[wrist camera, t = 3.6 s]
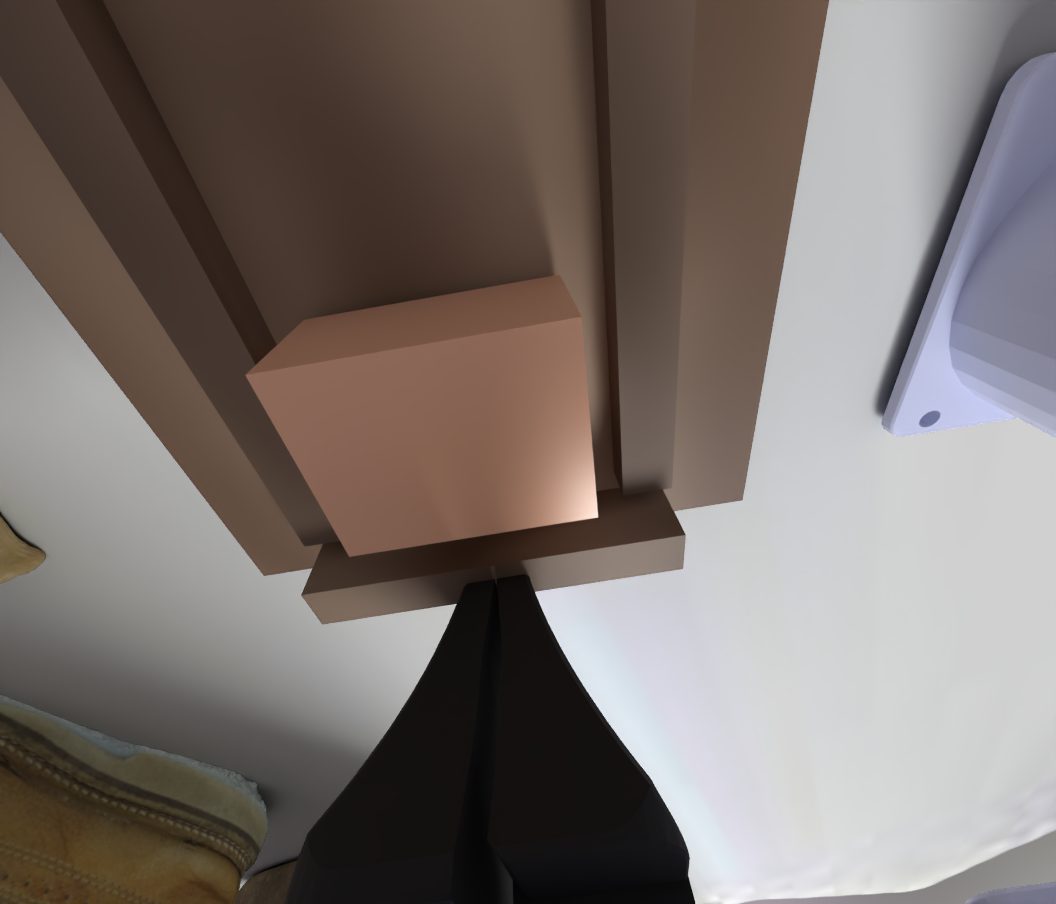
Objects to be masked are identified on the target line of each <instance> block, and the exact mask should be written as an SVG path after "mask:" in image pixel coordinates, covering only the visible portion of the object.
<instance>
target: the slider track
mask: <svg viewBox="0 0 1056 904" xmlns="http://www.w3.org/2000/svg"><path fill="white" fill-rule="evenodd" d="M828 3H829V0H0V232H1V233H2V235H3V236H4V237H5V239H6V240H7V241H8V242H9V244H10V245H11V246H12V248H13V249H14V250H15V252H16V253H17V254H18V256H19V257H20V258H21V259H22V261H23V262H24V263H25V265H26V266H27V267H28V269H29V270H30V271H31V272H32V274H33V275H34V276H35V278H36V279H37V280H38V282H39V283H40V284H41V286H42V287H43V288H44V289H45V291H46V292H47V293H48V295H49V296H50V297H51V299H52V300H53V301H54V303H55V304H56V305H57V306H58V308H59V309H60V310H61V312H62V313H63V314H64V316H65V317H66V318H67V319H68V321H69V322H70V323H71V325H72V326H73V327H74V329H75V330H76V331H77V333H78V334H79V335H80V336H81V338H82V339H83V340H84V342H85V343H86V344H87V346H88V347H89V348H90V349H91V351H92V352H93V353H94V355H95V356H96V357H97V359H98V360H99V361H100V363H101V364H102V365H103V366H104V368H105V369H106V370H107V372H108V373H109V374H110V376H111V377H112V378H113V379H114V381H115V382H116V383H117V385H118V386H119V387H120V389H121V390H122V391H123V393H124V394H125V395H126V396H127V398H128V399H129V400H130V402H131V403H132V404H133V406H134V407H135V408H136V409H137V411H138V412H139V413H140V415H141V416H142V417H143V419H144V420H145V421H146V423H147V424H148V425H149V426H150V428H151V429H152V430H153V432H154V433H155V434H156V436H157V437H158V438H159V439H160V441H161V442H162V443H163V445H164V446H165V447H166V449H167V450H168V451H169V453H170V454H171V455H172V456H173V458H174V459H175V460H176V462H177V463H178V464H179V466H180V467H181V468H182V469H183V471H184V472H185V473H186V475H187V476H188V477H189V479H190V480H191V481H192V483H193V484H194V485H195V486H196V488H197V489H198V490H199V492H200V493H201V494H202V496H203V497H204V498H205V499H206V501H207V502H208V503H209V505H210V506H211V507H212V509H213V510H214V511H215V513H216V514H217V515H218V516H219V518H220V519H221V520H222V522H223V523H224V524H225V526H226V527H227V528H228V529H229V531H230V532H231V533H232V535H233V536H234V537H235V539H236V540H237V541H238V543H239V544H240V545H241V546H242V548H243V549H244V550H245V552H246V553H247V554H248V556H249V557H250V558H251V559H252V561H253V562H254V563H255V565H256V566H257V567H258V569H259V570H260V571H261V573H262V574H263V575H264V576H266V575H273V574H279V573H285V572H292V571H298V570H304V569H311V568H313V569H312V571H311V573H310V576H309V578H308V580H307V583H306V585H305V588H304V590H303V592H302V597H303V598H304V600H305V601H306V602H307V604H308V605H309V607H310V608H311V609H312V611H313V612H314V614H315V615H316V616H317V618H318V619H319V620H320V622H321V623H322V624H328V623H334V622H341V621H347V620H354V619H360V618H367V617H373V616H380V615H386V614H393V613H399V612H406V611H412V610H419V609H425V608H432V607H438V606H445V605H451V604H457V602H458V600H459V598H460V595H461V593H462V590H463V587H464V586H465V585H466V584H467V583H473V582H479V581H485V580H491V579H495V582H496V585H497V580H496V579H497V578H503V577H510V576H516V575H522V574H525V575H527V576H529V577H530V580H531V583H532V586H533V589H534V591H535V592H536V591H542V590H549V589H555V588H562V587H568V586H575V585H581V584H588V583H594V582H600V581H607V580H613V579H620V578H626V577H633V576H639V575H646V574H652V573H659V572H665V571H672V570H678V569H683V562H684V549H685V536H686V535H685V533H684V531H683V529H682V527H681V525H680V523H679V521H678V519H677V517H676V515H675V513H674V511H677V510H683V509H690V508H696V507H702V506H709V505H715V504H721V503H728V502H734V501H740V500H743V494H744V488H745V482H746V476H747V471H748V465H749V459H750V453H751V448H752V442H753V436H754V430H755V424H756V419H757V413H758V407H759V401H760V396H761V390H762V384H763V378H764V372H765V367H766V361H767V355H768V349H769V344H770V338H771V332H772V326H773V321H774V315H775V309H776V303H777V297H778V292H779V286H780V280H781V274H782V269H783V263H784V257H785V251H786V245H787V240H788V234H789V228H790V222H791V217H792V211H793V205H794V199H795V194H796V188H797V182H798V176H799V170H800V165H801V159H802V153H803V147H804V142H805V136H806V130H807V124H808V118H809V113H810V107H811V101H812V95H813V90H814V84H815V78H816V72H817V66H818V61H819V55H820V49H821V43H822V38H823V32H824V26H825V20H826V15H827V9H828ZM554 275H560V276H561V278H562V280H563V282H564V284H565V286H566V288H567V289H568V291H569V293H570V295H571V297H572V299H573V301H574V303H575V305H576V307H577V309H578V311H579V312H580V314H581V316H582V326H583V338H584V350H585V362H586V374H587V387H588V399H589V411H590V423H591V435H592V448H593V460H594V472H595V484H596V496H597V509H598V517H597V518H591V519H585V520H578V521H572V522H566V523H560V524H553V525H547V526H541V527H534V528H528V529H522V530H515V531H509V532H503V533H497V534H490V535H484V536H478V537H471V538H465V539H459V540H452V541H446V542H440V543H434V544H427V545H421V546H415V547H408V548H402V549H396V550H389V551H383V552H377V553H370V554H364V555H358V556H352V557H349V556H348V554H347V552H346V550H345V549H344V547H343V545H342V543H341V542H340V540H339V538H338V536H337V535H336V533H335V531H334V529H333V528H332V526H331V524H330V522H329V521H328V519H327V517H326V515H325V514H324V512H323V510H322V508H321V507H320V505H319V503H318V501H317V500H316V498H315V496H314V494H313V493H312V491H311V489H310V487H309V486H308V484H307V482H306V480H305V479H304V477H303V475H302V473H301V472H300V470H299V468H298V466H297V465H296V463H295V461H294V459H293V458H292V456H291V454H290V452H289V451H288V449H287V447H286V445H285V444H284V442H283V440H282V439H281V437H280V435H279V433H278V432H277V430H276V428H275V426H274V425H273V423H272V421H271V419H270V418H269V416H268V414H267V412H266V411H265V409H264V407H263V405H262V404H261V402H260V400H259V398H258V397H257V395H256V393H255V391H254V390H253V388H252V386H251V384H250V383H249V381H248V379H247V377H246V376H245V375H246V374H247V373H248V372H249V371H250V370H251V369H252V368H253V367H254V366H255V365H256V364H258V363H259V362H260V361H261V360H262V359H263V358H264V357H265V356H266V355H267V354H268V353H269V352H270V351H271V350H272V349H273V348H275V347H276V346H277V345H278V344H279V343H280V342H281V341H282V340H283V339H284V338H285V337H286V336H287V335H288V334H289V333H290V332H292V331H293V330H294V329H295V328H296V327H297V326H298V325H299V324H300V323H301V322H302V321H303V320H305V319H311V318H316V317H322V316H328V315H333V314H339V313H345V312H350V311H356V310H362V309H367V308H373V307H379V306H384V305H390V304H396V303H401V302H407V301H413V300H418V299H424V298H430V297H435V296H441V295H447V294H452V293H458V292H464V291H469V290H475V289H481V288H486V287H492V286H498V285H503V284H509V283H515V282H520V281H526V280H532V279H537V278H543V277H549V276H554Z"/></svg>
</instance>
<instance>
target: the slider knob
mask: <svg viewBox="0 0 1056 904" xmlns="http://www.w3.org/2000/svg"><path fill="white" fill-rule="evenodd" d="M245 376H246V377H247V379H248V381H249V383H250V384H251V386H252V388H253V390H254V391H255V393H256V395H257V397H258V398H259V400H260V402H261V404H262V405H263V407H264V409H265V411H266V412H267V414H268V416H269V418H270V419H271V421H272V423H273V425H274V426H275V428H276V430H277V432H278V433H279V435H280V437H281V439H282V440H283V442H284V444H285V445H286V447H287V449H288V451H289V452H290V454H291V456H292V458H293V459H294V461H295V463H296V465H297V466H298V468H299V470H300V472H301V473H302V475H303V477H304V479H305V480H306V482H307V484H308V486H309V487H310V489H311V491H312V493H313V494H314V496H315V498H316V500H317V501H318V503H319V505H320V507H321V508H322V510H323V512H324V514H325V515H326V517H327V519H328V521H329V522H330V524H331V526H332V528H333V529H334V531H335V533H336V535H337V536H338V538H339V540H340V542H341V543H342V545H343V547H344V549H345V550H346V552H347V554H348V556H349V557H352V556H358V555H364V554H370V553H377V552H383V551H389V550H396V549H402V548H408V547H415V546H421V545H427V544H434V543H440V542H446V541H452V540H459V539H465V538H471V537H478V536H484V535H490V534H497V533H503V532H509V531H515V530H522V529H528V528H534V527H541V526H547V525H553V524H560V523H566V522H572V521H578V520H585V519H591V518H597V517H598V509H597V496H596V484H595V472H594V460H593V448H592V435H591V423H590V411H589V399H588V387H587V374H586V362H585V350H584V338H583V326H582V316H581V314H580V312H579V311H578V309H577V307H576V305H575V303H574V301H573V299H572V297H571V295H570V293H569V291H568V289H567V288H566V286H565V284H564V282H563V280H562V278H561V276H560V275H554V276H549V277H543V278H537V279H532V280H526V281H520V282H515V283H509V284H503V285H498V286H492V287H486V288H481V289H475V290H469V291H464V292H458V293H452V294H447V295H441V296H435V297H430V298H424V299H418V300H413V301H407V302H401V303H396V304H390V305H384V306H379V307H373V308H367V309H362V310H356V311H350V312H345V313H339V314H333V315H328V316H322V317H316V318H311V319H305V320H303V321H302V322H301V323H300V324H299V325H298V326H297V327H296V328H295V329H294V330H293V331H292V332H290V333H289V334H288V335H287V336H286V337H285V338H284V339H283V340H282V341H281V342H280V343H279V344H278V345H277V346H276V347H275V348H273V349H272V350H271V351H270V352H269V353H268V354H267V355H266V356H265V357H264V358H263V359H262V360H261V361H260V362H259V363H258V364H256V365H255V366H254V367H253V368H252V369H251V370H250V371H249V372H248V373H247V374H246V375H245Z"/></svg>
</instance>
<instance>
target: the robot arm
mask: <svg viewBox="0 0 1056 904" xmlns="http://www.w3.org/2000/svg"><path fill="white" fill-rule="evenodd" d="M1015 418H1019V419H1021V420H1023V421H1024V422H1026V423H1028V424H1030V425H1032V426H1034V427H1036V428H1038V429H1040V430H1042V431H1044V432H1046V433H1048V434H1049V435H1051V436H1053V437H1055V438H1056V52H1053V53H1048V54H1043V55H1040V56H1038V57H1035V58H1033V59H1030V60H1029V61H1028V62H1027V63H1025V64H1024V65H1023V66H1021V67H1020V68H1019V69H1018V70H1017V71H1016V72H1015V74H1014V75H1013V76H1012V77H1011V79H1010V80H1009V81H1008V82H1007V84H1006V86H1005V88H1004V90H1003V92H1002V94H1001V96H1000V99H999V102H998V105H997V107H996V110H995V113H994V116H993V118H992V121H991V124H990V126H989V129H988V132H987V135H986V137H985V140H984V143H983V146H982V148H981V151H980V154H979V156H978V159H977V162H976V165H975V167H974V170H973V173H972V176H971V178H970V181H969V184H968V187H967V189H966V192H965V195H964V197H963V200H962V203H961V206H960V208H959V211H958V214H957V217H956V219H955V222H954V225H953V227H952V230H951V233H950V236H949V238H948V241H947V244H946V247H945V249H944V252H943V255H942V257H941V260H940V263H939V266H938V268H937V271H936V274H935V277H934V279H933V282H932V285H931V288H930V290H929V293H928V296H927V298H926V301H925V304H924V307H923V309H922V312H921V315H920V318H919V320H918V323H917V326H916V328H915V331H914V334H913V337H912V339H911V342H910V345H909V348H908V350H907V353H906V356H905V359H904V361H903V364H902V367H901V369H900V372H899V375H898V378H897V380H896V383H895V386H894V389H893V391H892V394H891V397H890V399H889V402H888V405H887V408H886V410H885V413H884V416H883V419H882V426H883V428H884V429H885V430H887V431H888V432H889V433H891V434H892V435H894V436H896V437H903V436H910V435H916V434H922V433H928V432H934V431H941V430H947V429H953V428H959V427H965V426H972V425H978V424H984V423H990V422H997V421H1003V420H1009V419H1015ZM496 580H497V585H496V582H495V579H491V580H485V581H479V582H473V583H467V584H466V585H465V586H464V587H463V590H462V593H461V595H460V598H459V600H458V602H457V605H456V607H455V610H454V612H453V614H452V617H451V619H450V621H449V624H448V626H447V628H446V630H445V632H444V634H443V636H442V638H441V640H440V642H439V644H438V646H437V649H436V651H435V653H434V655H433V657H432V658H431V660H430V662H429V664H428V666H427V668H426V670H425V671H424V673H423V675H422V677H421V678H420V680H419V682H418V684H417V685H416V687H415V689H414V691H413V692H412V694H411V695H410V697H409V699H408V700H407V702H406V703H405V705H404V706H403V708H402V710H401V711H400V713H399V714H398V716H397V718H396V719H395V721H394V722H393V724H392V725H391V727H390V728H389V730H388V731H387V732H386V734H385V735H384V737H383V738H382V740H381V741H380V742H379V744H378V745H377V746H376V748H375V749H374V750H373V752H372V753H371V755H370V756H369V757H368V759H367V760H366V761H365V763H364V764H363V765H362V767H361V768H360V770H359V771H358V772H357V774H356V775H355V776H354V777H353V779H352V780H351V781H350V783H349V784H348V785H347V786H346V788H345V789H344V790H343V791H342V792H341V794H340V795H339V796H338V797H337V798H336V800H335V801H334V802H333V803H332V805H331V806H330V807H329V808H328V809H327V811H326V812H325V813H324V814H323V815H322V817H321V818H320V819H319V820H318V822H317V823H316V824H315V825H314V826H313V827H312V829H311V830H310V831H309V832H308V834H307V837H306V839H305V842H304V845H303V848H302V850H301V853H300V855H299V858H298V860H297V863H296V866H295V869H294V872H293V875H292V878H291V882H290V885H289V889H288V892H287V896H286V899H285V903H284V904H695V900H694V896H693V893H692V889H691V885H690V881H689V878H688V869H689V859H690V858H689V853H688V849H687V846H686V844H685V841H684V839H683V836H682V834H681V832H680V830H679V828H678V826H677V824H676V822H675V820H674V819H673V817H672V815H671V813H670V812H669V810H668V808H667V806H666V805H665V803H664V801H663V799H662V798H661V796H660V794H659V793H658V791H657V789H656V788H655V786H654V784H653V782H652V780H651V779H650V777H649V776H648V775H647V773H646V772H645V771H644V770H643V768H642V767H641V766H640V765H639V763H638V762H637V761H636V760H635V758H634V757H633V756H632V754H631V753H630V752H629V750H628V749H627V748H626V747H625V745H624V744H623V743H622V741H621V740H620V738H619V737H618V736H617V734H616V733H615V732H614V730H613V729H612V727H611V726H610V725H609V723H608V722H607V721H606V719H605V718H604V716H603V715H602V713H601V712H600V710H599V709H598V707H597V706H596V704H595V703H594V701H593V700H592V698H591V697H590V695H589V694H588V692H587V691H586V689H585V688H584V686H583V685H582V683H581V681H580V680H579V678H578V677H577V675H576V673H575V672H574V670H573V668H572V667H571V665H570V663H569V661H568V660H567V658H566V656H565V654H564V653H563V651H562V649H561V647H560V645H559V643H558V642H557V640H556V638H555V636H554V634H553V632H552V630H551V628H550V626H549V624H548V622H547V620H546V617H545V615H544V613H543V611H542V608H541V606H540V604H539V601H538V599H537V597H536V594H535V591H534V589H533V586H532V583H531V580H530V577H529V576H527V575H525V574H522V575H516V576H510V577H503V578H497V579H496ZM965 904H1056V882H1050V883H1043V884H1035V885H1027V886H1020V887H1012V888H1004V889H997V890H992V891H987V892H984V893H980V894H977V895H975V896H973V897H971V898H970V899H968V900H967V901H966V903H965Z"/></svg>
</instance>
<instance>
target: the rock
mask: <svg viewBox="0 0 1056 904" xmlns="http://www.w3.org/2000/svg"><path fill="white" fill-rule="evenodd" d="M45 558H46V557H45V553H44V552H42V551H41V550H39V549H37V548H34V547H31V546H29V545H28V544H26V543H25V542H23V541H22V540H20V539H19V538H18V537H16V536H15V534H14V533H13V532H12V530H11V529H10V528H9V526H8V525H7V524H6V522H5V521H4V520H3V519H2V518H1V516H0V584H2V583H4V582H6V581H8V580H10V579H12V578H14V577H16V576H18V575H22V574H26V573H28V572H30V571H32V570H34V569H36V568H37V567H38V566H39V565H40V564H41V563H42V562H43V560H44V559H45Z"/></svg>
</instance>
